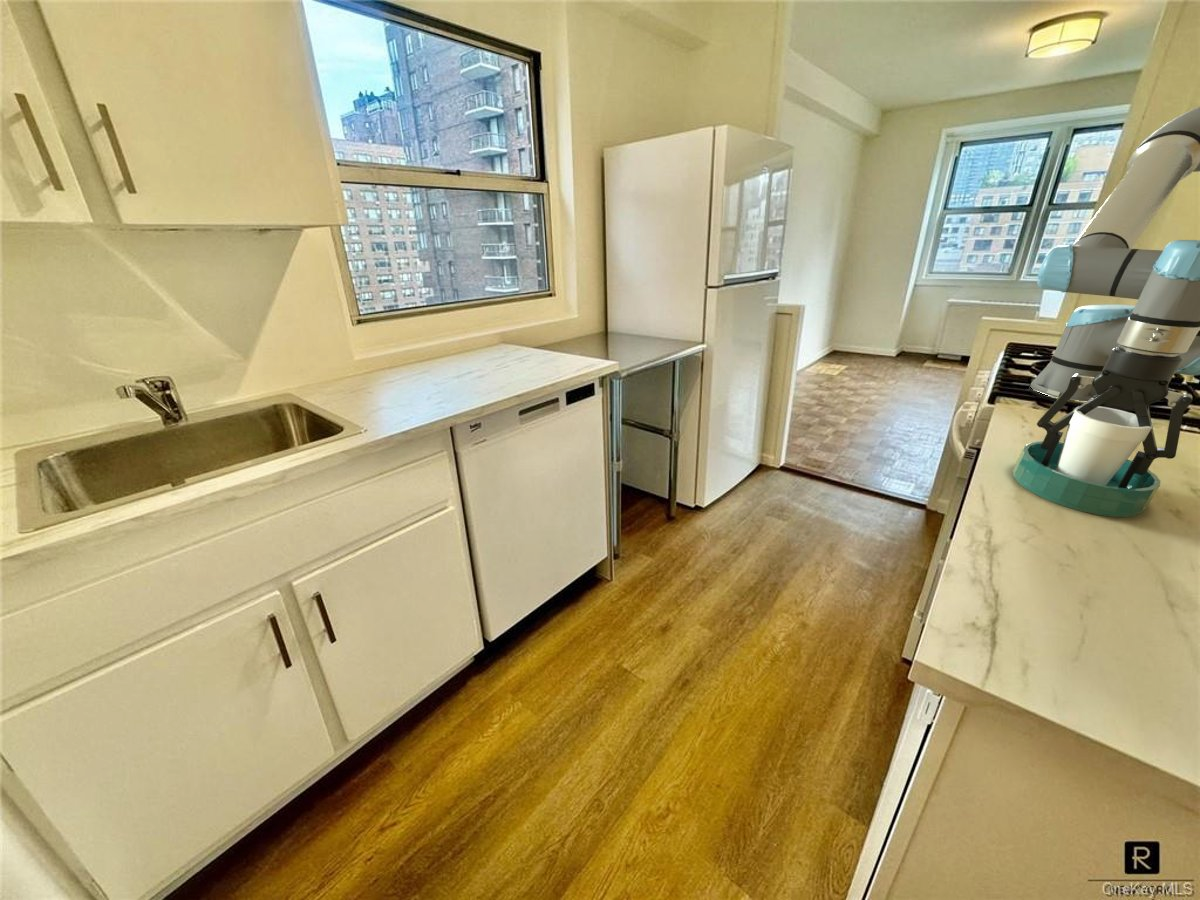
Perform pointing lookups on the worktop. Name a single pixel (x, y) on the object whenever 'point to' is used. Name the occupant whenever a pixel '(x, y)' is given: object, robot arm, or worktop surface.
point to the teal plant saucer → (1083, 485)
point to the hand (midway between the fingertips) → (1080, 477)
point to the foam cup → (1099, 444)
